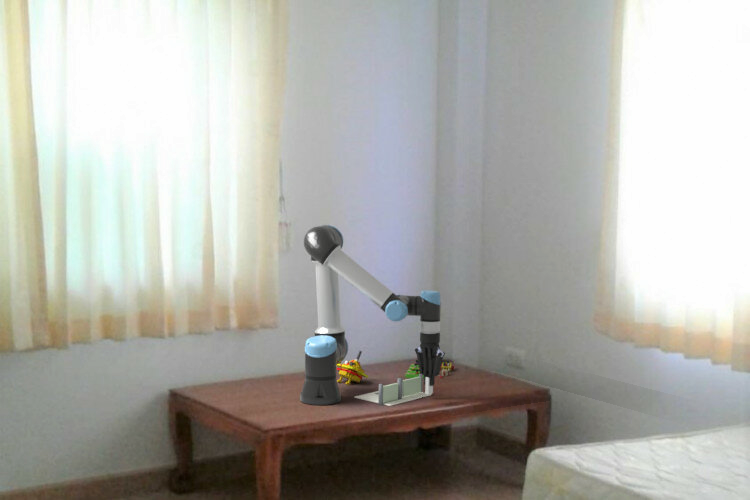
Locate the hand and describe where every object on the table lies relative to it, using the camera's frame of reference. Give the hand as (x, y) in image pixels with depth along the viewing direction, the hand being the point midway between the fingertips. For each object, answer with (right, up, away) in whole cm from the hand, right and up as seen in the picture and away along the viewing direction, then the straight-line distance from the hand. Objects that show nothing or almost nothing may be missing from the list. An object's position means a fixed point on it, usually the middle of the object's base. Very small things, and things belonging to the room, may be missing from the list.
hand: (429, 393), depth 344 cm
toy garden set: (+3, +1, +47) cm, 47 cm away
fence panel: (-6, -1, +4) cm, 7 cm away
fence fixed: (-15, -2, -6) cm, 16 cm away
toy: (-30, 0, +26) cm, 40 cm away
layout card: (-14, -2, +3) cm, 14 cm away
